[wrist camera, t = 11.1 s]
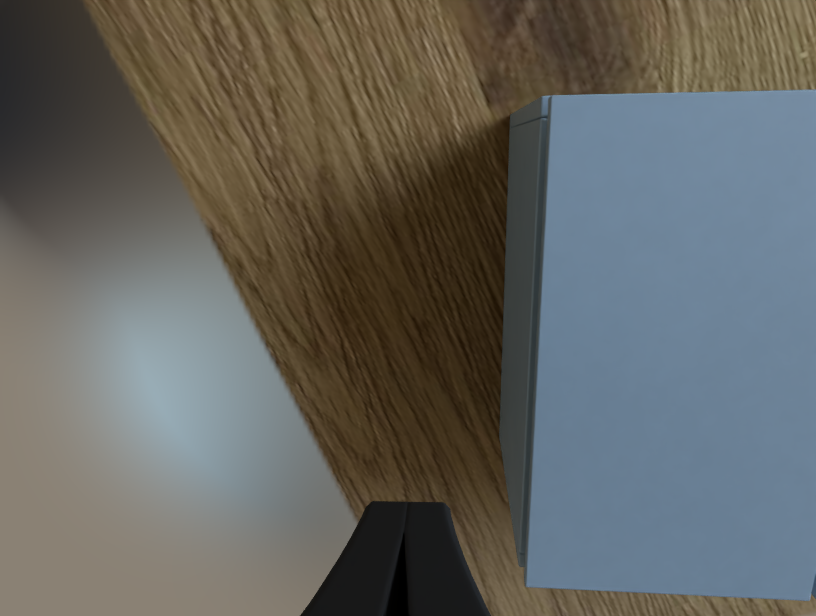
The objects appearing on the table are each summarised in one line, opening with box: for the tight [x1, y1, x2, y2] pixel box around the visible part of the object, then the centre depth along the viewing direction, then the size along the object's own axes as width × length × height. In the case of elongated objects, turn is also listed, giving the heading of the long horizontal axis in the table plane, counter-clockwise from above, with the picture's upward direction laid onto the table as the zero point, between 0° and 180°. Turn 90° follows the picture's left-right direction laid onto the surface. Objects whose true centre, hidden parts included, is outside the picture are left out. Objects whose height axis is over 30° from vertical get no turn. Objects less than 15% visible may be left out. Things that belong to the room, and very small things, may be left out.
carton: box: [499, 90, 816, 601], centre depth 14 cm, size 13×11×7 cm
